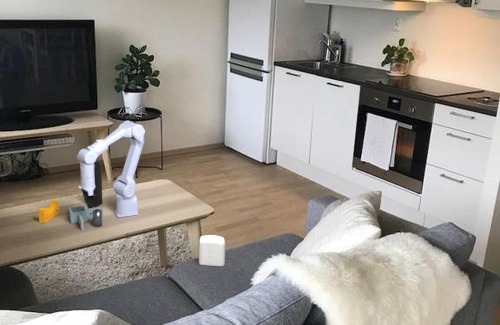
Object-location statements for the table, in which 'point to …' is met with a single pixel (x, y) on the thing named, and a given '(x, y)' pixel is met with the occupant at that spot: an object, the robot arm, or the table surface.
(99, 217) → the pin
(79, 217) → the square tube bracket
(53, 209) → the pipe clamp
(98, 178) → the wine bottle
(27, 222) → the table surface
